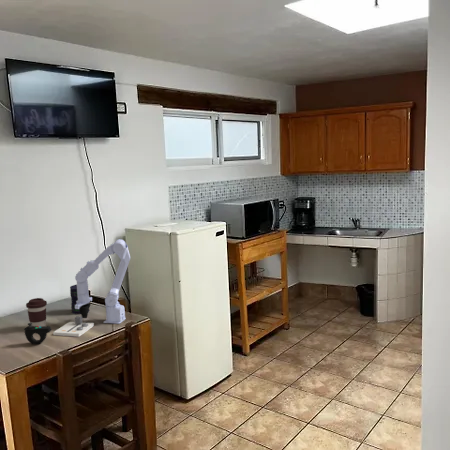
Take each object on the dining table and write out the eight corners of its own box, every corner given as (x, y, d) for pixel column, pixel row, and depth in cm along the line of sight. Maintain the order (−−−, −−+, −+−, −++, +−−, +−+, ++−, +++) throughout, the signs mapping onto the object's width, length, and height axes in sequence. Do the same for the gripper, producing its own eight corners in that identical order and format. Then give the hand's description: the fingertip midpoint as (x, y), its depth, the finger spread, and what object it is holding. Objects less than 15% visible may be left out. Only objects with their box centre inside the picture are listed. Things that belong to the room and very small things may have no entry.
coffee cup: (42, 322, 247) (40, 295, 244) (52, 326, 240) (50, 299, 238) (24, 328, 239) (22, 300, 237) (34, 332, 233) (31, 303, 231)
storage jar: (70, 310, 266) (68, 285, 264) (88, 307, 270) (86, 283, 268) (72, 315, 257) (70, 289, 255) (90, 312, 261) (89, 287, 259)
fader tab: (82, 323, 240) (82, 316, 239) (80, 324, 238) (80, 317, 237) (77, 322, 240) (76, 316, 240) (75, 324, 238) (74, 317, 238)
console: (93, 325, 240) (93, 321, 240) (79, 336, 226) (78, 332, 225) (69, 324, 243) (69, 320, 243) (53, 335, 228) (53, 330, 228)
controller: (27, 341, 221) (25, 322, 219) (53, 341, 221) (51, 321, 219) (24, 345, 216) (22, 325, 215) (50, 344, 216) (48, 324, 215)
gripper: (83, 289, 251) (84, 313, 253) (68, 296, 237) (70, 322, 239) (94, 289, 249) (96, 313, 251) (81, 297, 235) (83, 322, 237)
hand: (84, 317), depth 245 cm, fingers closed
